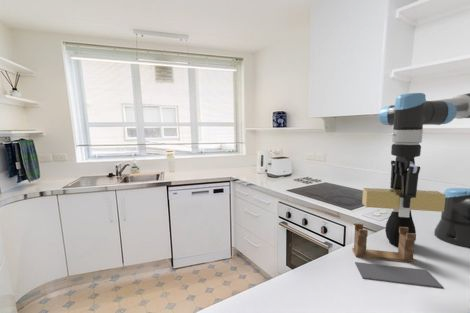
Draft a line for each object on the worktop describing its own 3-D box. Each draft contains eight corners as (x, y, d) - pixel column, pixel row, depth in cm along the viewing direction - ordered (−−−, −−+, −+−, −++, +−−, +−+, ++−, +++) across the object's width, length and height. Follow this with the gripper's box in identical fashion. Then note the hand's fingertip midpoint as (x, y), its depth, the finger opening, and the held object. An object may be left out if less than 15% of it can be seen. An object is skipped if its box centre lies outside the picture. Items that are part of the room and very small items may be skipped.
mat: (426, 270, 80) (426, 269, 80) (443, 288, 71) (443, 287, 71) (354, 263, 85) (355, 262, 85) (362, 278, 77) (362, 277, 76)
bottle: (385, 235, 106) (390, 172, 102) (414, 243, 99) (421, 175, 96) (382, 245, 98) (387, 176, 94) (414, 253, 91) (421, 179, 88)
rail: (435, 207, 75) (437, 191, 74) (443, 211, 71) (445, 194, 70) (362, 203, 80) (363, 187, 79) (366, 207, 76) (367, 191, 75)
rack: (406, 254, 90) (409, 227, 89) (415, 263, 84) (418, 234, 83) (351, 249, 95) (353, 223, 93) (356, 257, 89) (357, 229, 87)
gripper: (382, 141, 82) (377, 204, 85) (406, 145, 65) (399, 223, 68) (406, 141, 80) (400, 206, 83) (437, 145, 64) (428, 225, 67)
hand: (400, 213), depth 76 cm, fingers closed on rail, 4 cm apart
